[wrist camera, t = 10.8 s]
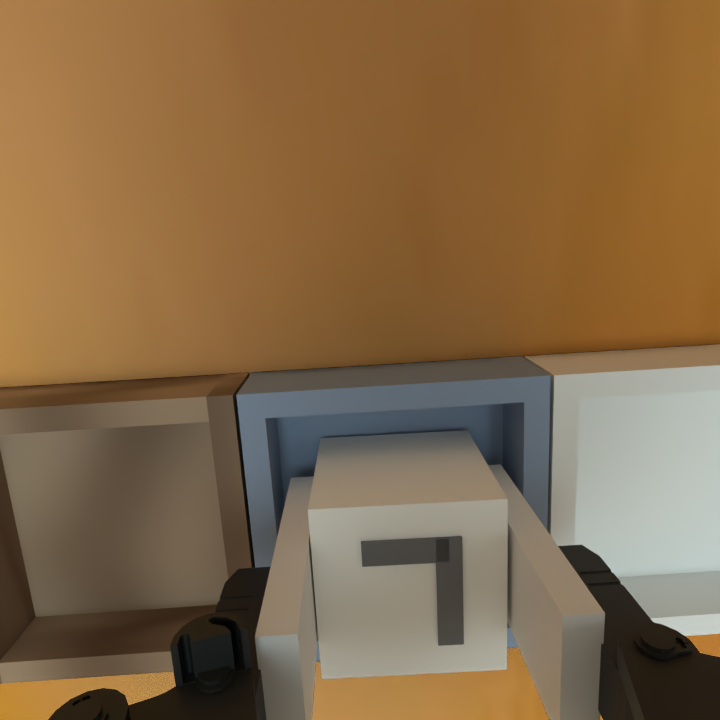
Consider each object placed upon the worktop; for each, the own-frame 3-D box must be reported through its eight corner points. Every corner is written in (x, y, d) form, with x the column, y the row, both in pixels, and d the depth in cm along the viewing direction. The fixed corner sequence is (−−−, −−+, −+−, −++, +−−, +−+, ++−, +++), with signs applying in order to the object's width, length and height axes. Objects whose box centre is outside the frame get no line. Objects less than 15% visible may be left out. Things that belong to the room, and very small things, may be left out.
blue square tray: (520, 356, 17) (550, 375, 14) (518, 592, 19) (544, 645, 16) (252, 372, 17) (236, 394, 14) (275, 609, 19) (265, 665, 16)
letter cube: (467, 430, 16) (509, 500, 12) (468, 564, 17) (507, 675, 13) (320, 438, 17) (307, 511, 12) (330, 571, 18) (321, 685, 13)
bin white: (788, 340, 17) (862, 356, 15) (760, 576, 19) (822, 626, 16) (523, 355, 17) (554, 375, 14) (521, 592, 19) (548, 645, 16)
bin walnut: (248, 372, 17) (232, 395, 14) (273, 609, 19) (262, 665, 16) (-25, 389, 17) (-88, 414, 14) (26, 626, 18) (-22, 685, 16)
